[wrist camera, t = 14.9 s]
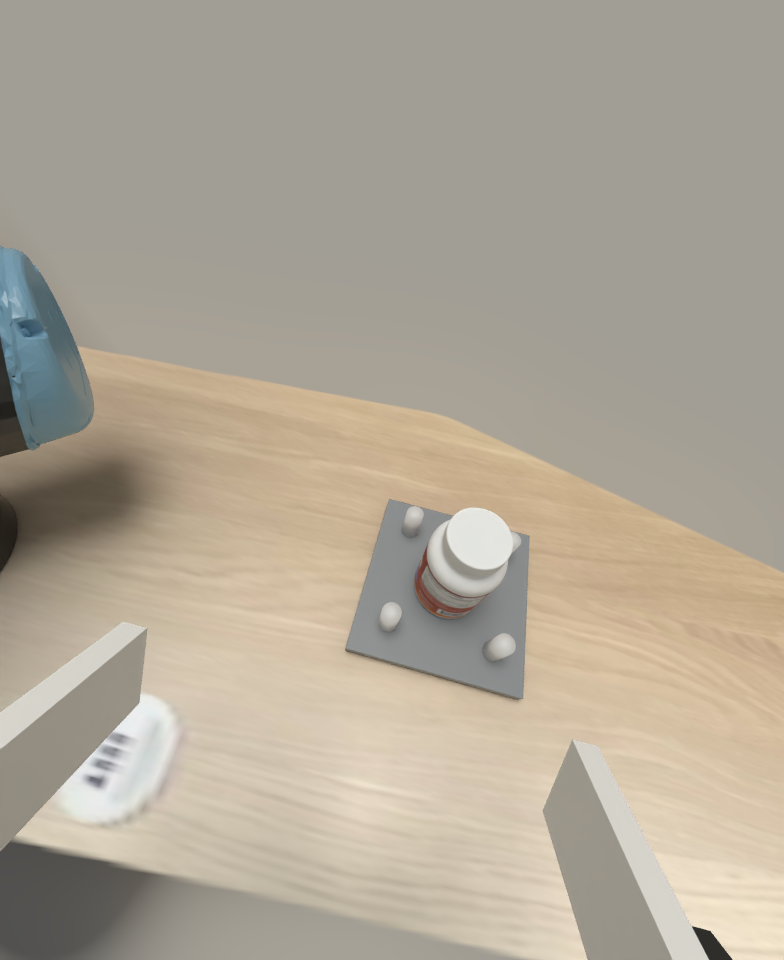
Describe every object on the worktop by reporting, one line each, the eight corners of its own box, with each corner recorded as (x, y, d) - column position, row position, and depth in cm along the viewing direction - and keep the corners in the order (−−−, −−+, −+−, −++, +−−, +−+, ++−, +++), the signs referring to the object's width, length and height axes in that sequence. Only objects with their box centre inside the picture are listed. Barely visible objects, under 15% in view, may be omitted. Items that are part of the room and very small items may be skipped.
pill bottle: (447, 543, 37) (480, 483, 28) (491, 593, 35) (543, 545, 26) (399, 579, 35) (417, 526, 26) (443, 635, 32) (480, 599, 23)
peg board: (345, 650, 32) (345, 640, 28) (388, 504, 40) (392, 480, 37) (517, 699, 31) (541, 696, 27) (524, 540, 40) (544, 520, 36)
